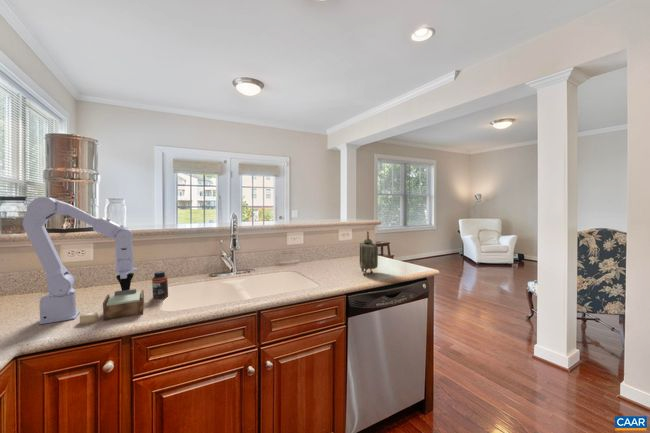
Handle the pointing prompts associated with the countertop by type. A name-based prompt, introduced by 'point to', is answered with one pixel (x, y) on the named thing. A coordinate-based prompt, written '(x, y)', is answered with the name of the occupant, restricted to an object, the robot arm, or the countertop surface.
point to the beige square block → (88, 318)
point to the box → (123, 308)
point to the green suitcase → (368, 255)
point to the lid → (124, 297)
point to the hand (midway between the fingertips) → (125, 292)
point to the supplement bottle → (160, 285)
